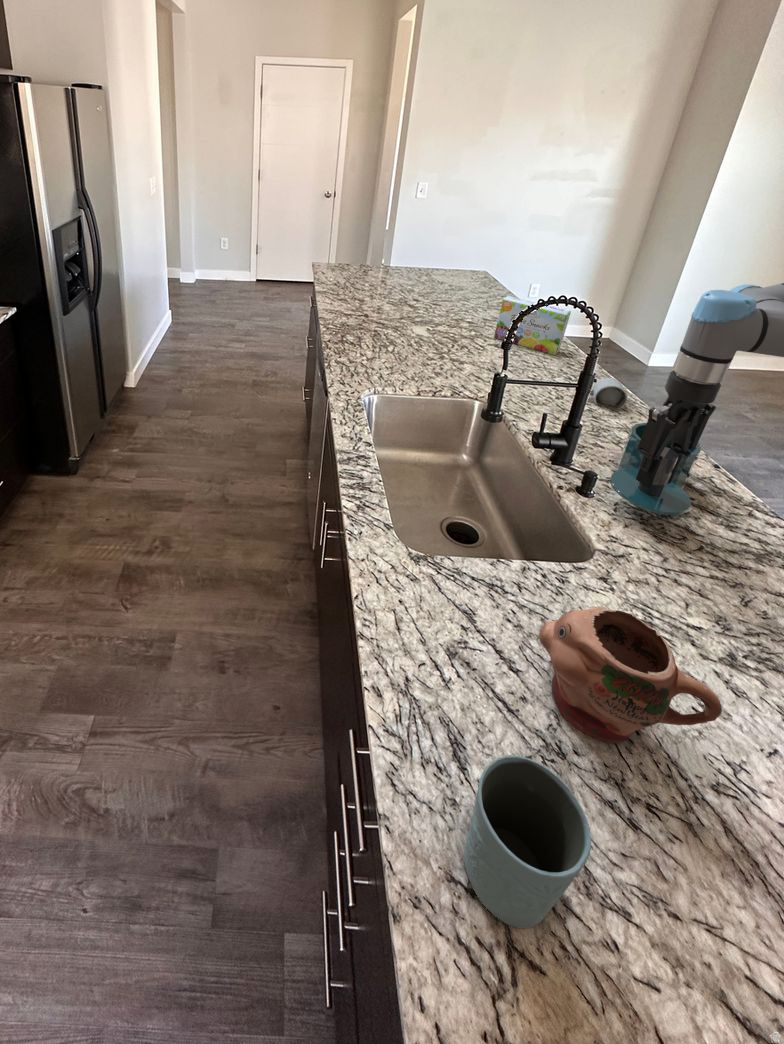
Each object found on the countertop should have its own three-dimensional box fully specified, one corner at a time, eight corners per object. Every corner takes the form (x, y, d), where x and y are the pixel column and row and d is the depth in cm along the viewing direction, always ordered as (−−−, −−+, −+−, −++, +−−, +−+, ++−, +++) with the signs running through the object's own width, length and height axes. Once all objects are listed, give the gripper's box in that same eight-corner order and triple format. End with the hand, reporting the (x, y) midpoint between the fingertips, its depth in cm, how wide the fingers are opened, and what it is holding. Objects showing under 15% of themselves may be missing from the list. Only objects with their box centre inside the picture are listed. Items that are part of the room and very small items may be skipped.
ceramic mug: (617, 401, 153) (626, 377, 150) (622, 414, 146) (631, 389, 143) (576, 393, 157) (583, 370, 153) (579, 406, 150) (586, 382, 147)
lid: (706, 510, 104) (726, 467, 99) (651, 522, 100) (670, 478, 96) (644, 469, 115) (660, 429, 111) (593, 478, 112) (608, 437, 108)
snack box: (492, 338, 193) (502, 298, 186) (498, 334, 197) (507, 294, 190) (555, 356, 180) (567, 314, 174) (560, 351, 184) (572, 309, 178)
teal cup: (463, 923, 53) (489, 863, 48) (450, 805, 62) (470, 744, 57) (571, 949, 52) (609, 890, 47) (542, 825, 61) (571, 764, 56)
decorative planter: (683, 707, 74) (723, 639, 68) (700, 798, 64) (749, 728, 58) (526, 644, 82) (550, 577, 76) (520, 716, 72) (547, 646, 66)
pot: (696, 490, 117) (715, 451, 113) (651, 499, 114) (669, 459, 110) (646, 457, 128) (661, 420, 124) (604, 464, 125) (618, 426, 120)
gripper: (712, 362, 102) (669, 463, 112) (639, 372, 97) (602, 476, 107) (753, 380, 95) (704, 486, 105) (678, 391, 91) (634, 500, 101)
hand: (653, 480), depth 106 cm, fingers closed on lid, 4 cm apart
